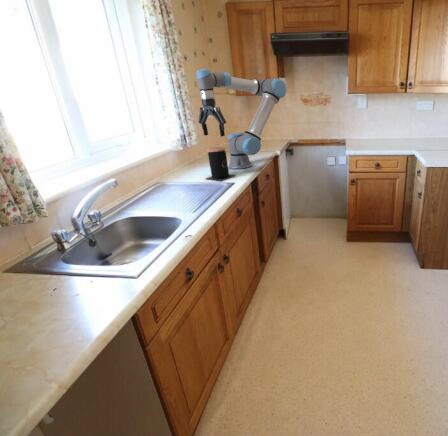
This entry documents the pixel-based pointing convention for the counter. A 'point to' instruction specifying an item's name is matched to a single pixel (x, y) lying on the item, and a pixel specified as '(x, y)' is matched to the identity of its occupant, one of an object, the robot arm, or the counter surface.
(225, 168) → the coffee jar
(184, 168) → the counter surface
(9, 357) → the counter surface
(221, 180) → the mat
